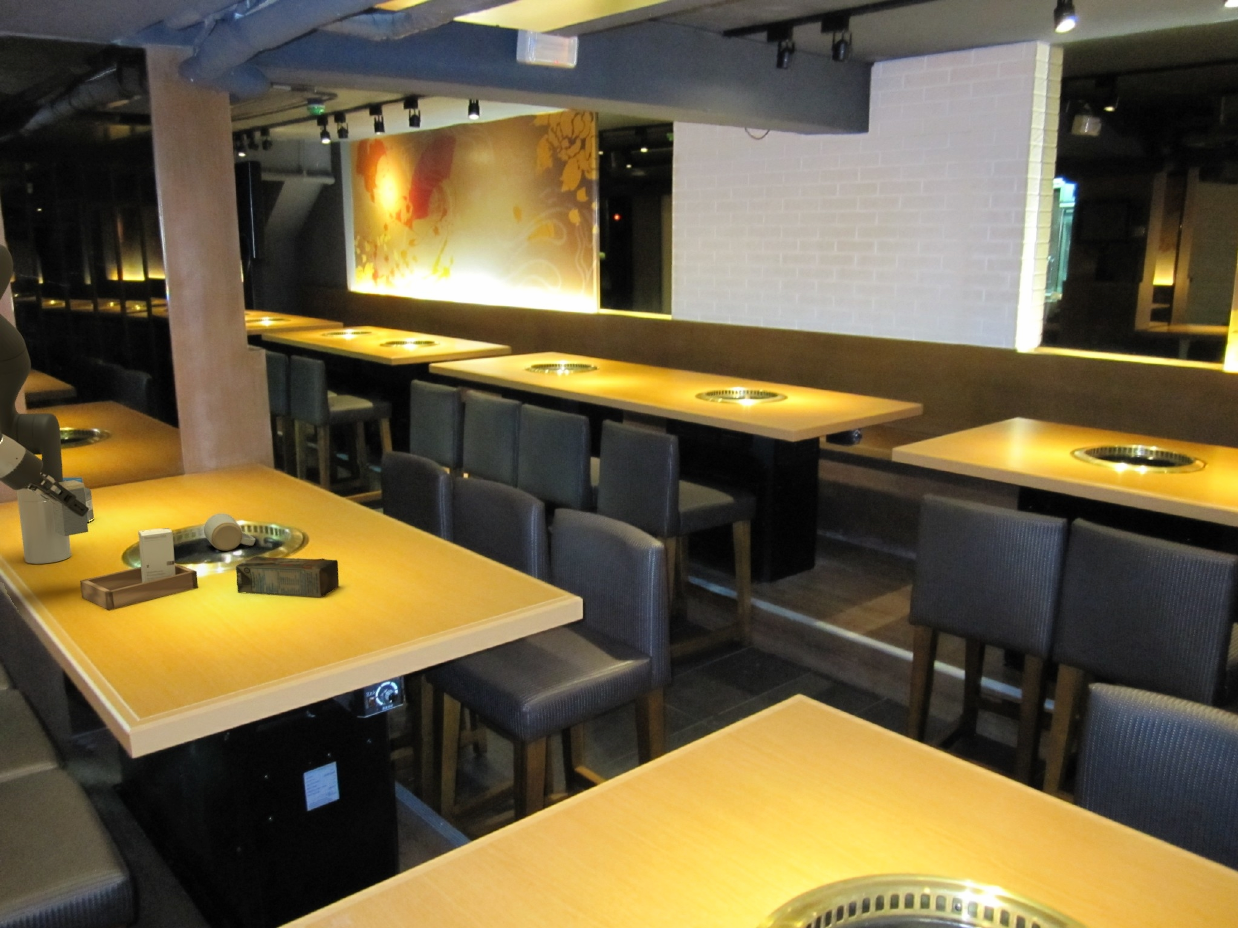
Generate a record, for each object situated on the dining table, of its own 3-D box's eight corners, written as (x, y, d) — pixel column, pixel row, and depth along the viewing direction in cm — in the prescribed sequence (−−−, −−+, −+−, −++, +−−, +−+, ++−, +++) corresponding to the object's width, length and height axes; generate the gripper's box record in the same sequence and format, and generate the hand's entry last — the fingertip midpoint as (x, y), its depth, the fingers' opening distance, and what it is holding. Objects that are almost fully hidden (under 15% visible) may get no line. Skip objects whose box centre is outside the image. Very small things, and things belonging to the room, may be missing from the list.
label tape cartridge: (95, 520, 261) (90, 474, 259) (87, 524, 258) (82, 477, 255) (60, 520, 261) (55, 474, 259) (52, 524, 257) (47, 477, 255)
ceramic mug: (212, 554, 231) (210, 522, 229) (204, 546, 237) (202, 514, 236) (259, 548, 236) (257, 516, 235) (250, 540, 243) (249, 509, 242)
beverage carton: (257, 581, 211) (255, 551, 210) (341, 587, 208) (340, 557, 207) (236, 593, 204) (233, 562, 202) (323, 599, 200) (321, 568, 199)
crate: (81, 597, 200) (80, 580, 200) (169, 576, 214) (167, 560, 213) (109, 610, 193) (107, 592, 192) (197, 587, 207) (196, 571, 206)
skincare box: (145, 593, 203) (140, 535, 201) (142, 587, 207) (136, 530, 204) (178, 588, 206) (173, 531, 204) (174, 582, 210) (169, 526, 208)
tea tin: (54, 532, 203) (49, 483, 201) (78, 527, 207) (74, 480, 205) (64, 536, 200) (59, 487, 198) (89, 531, 204) (84, 483, 202)
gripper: (36, 450, 190) (108, 501, 201) (7, 441, 198) (77, 490, 210) (9, 482, 187) (83, 532, 198) (-20, 471, 195) (52, 519, 207)
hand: (79, 510), depth 204 cm, fingers closed on tea tin, 4 cm apart
